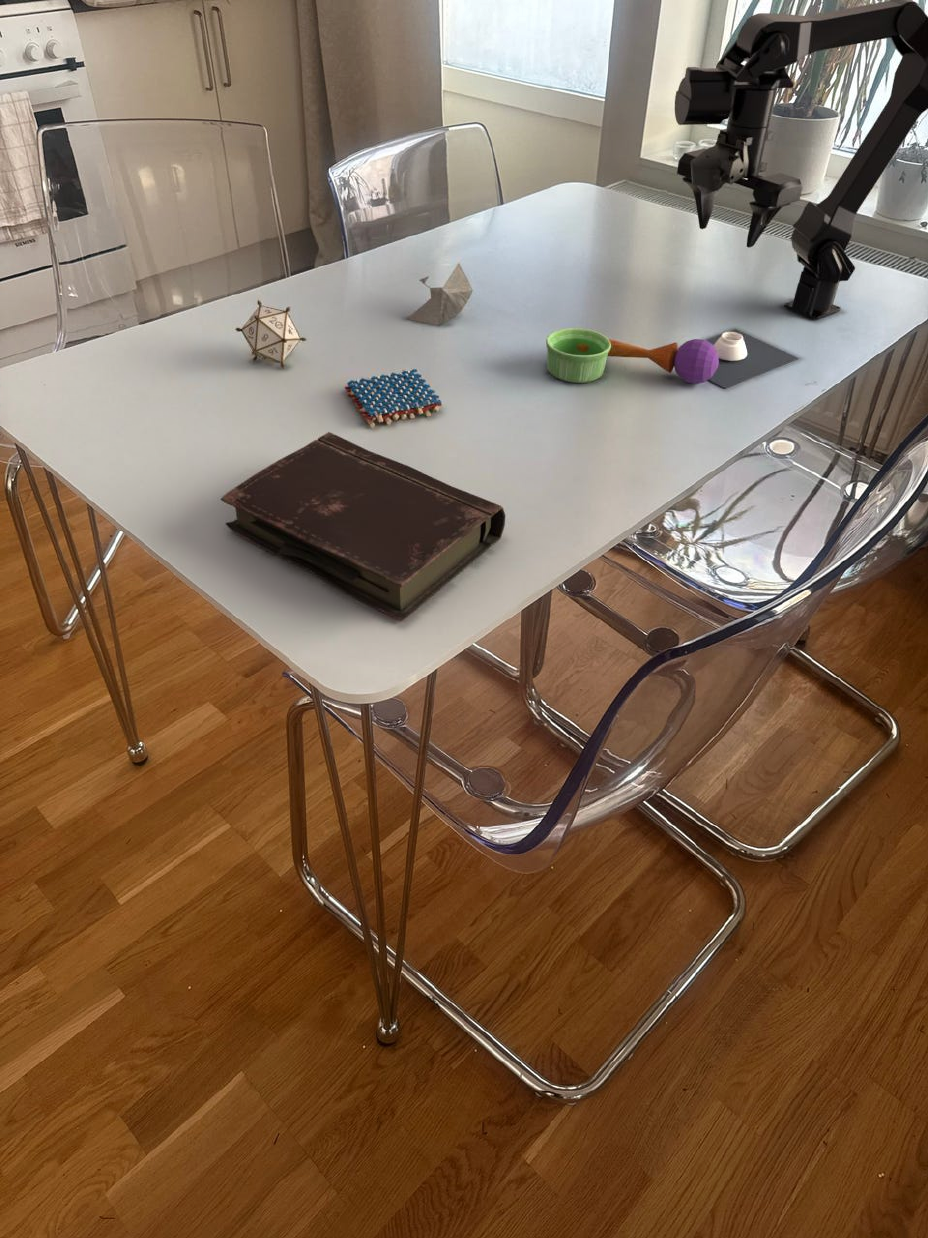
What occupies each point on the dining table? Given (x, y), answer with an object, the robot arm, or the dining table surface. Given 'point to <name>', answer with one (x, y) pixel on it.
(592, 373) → the ramekin
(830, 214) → the robot arm
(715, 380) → the slate mat
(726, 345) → the white jar
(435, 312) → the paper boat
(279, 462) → the diary
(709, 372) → the kendama
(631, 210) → the dining table surface
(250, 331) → the game die
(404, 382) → the woven mat
